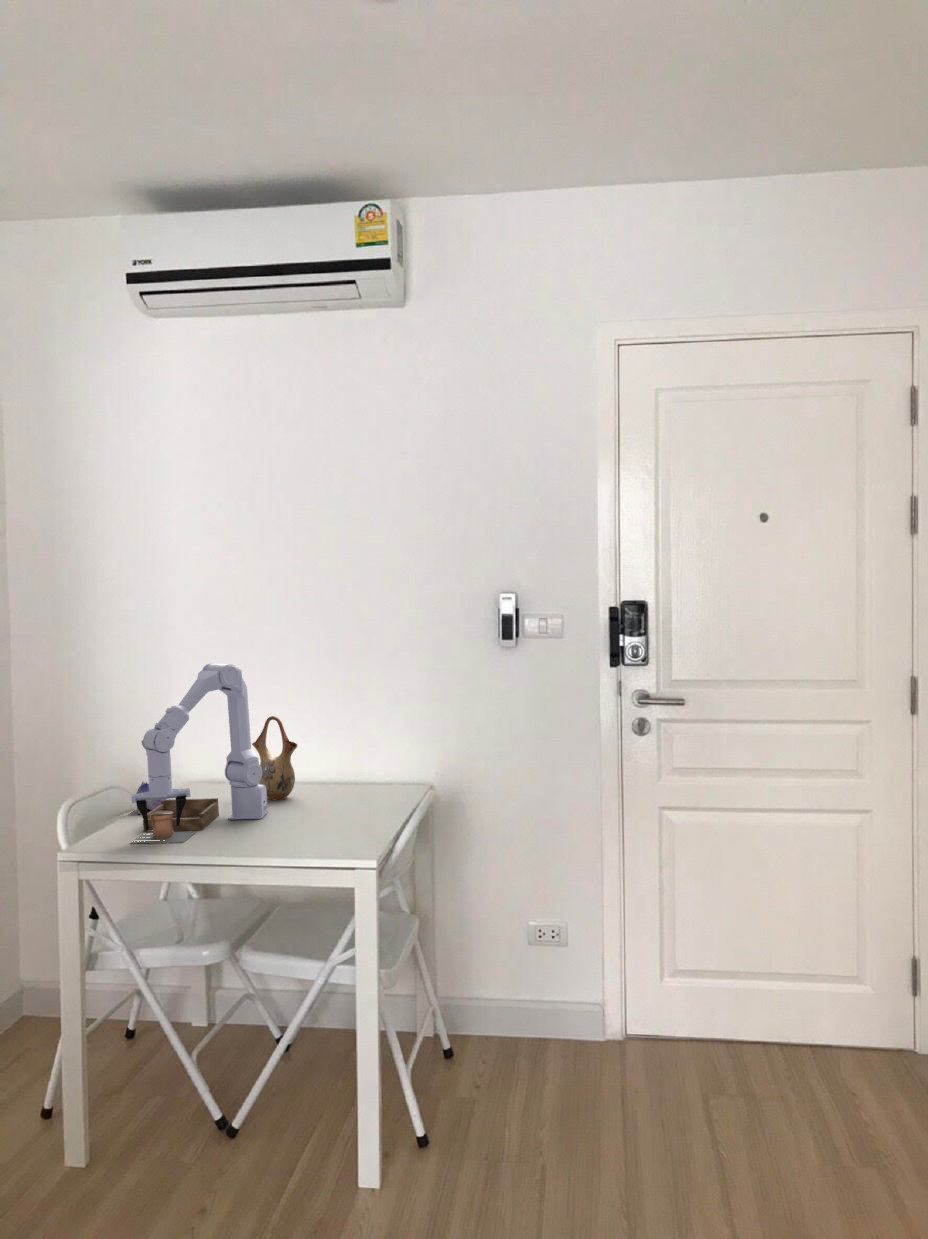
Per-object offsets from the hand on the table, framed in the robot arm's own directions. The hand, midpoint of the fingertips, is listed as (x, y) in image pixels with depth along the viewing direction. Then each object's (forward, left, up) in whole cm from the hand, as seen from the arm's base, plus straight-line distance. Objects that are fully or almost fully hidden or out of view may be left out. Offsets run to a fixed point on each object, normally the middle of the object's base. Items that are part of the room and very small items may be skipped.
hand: (162, 827), depth 262 cm
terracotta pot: (0, -1, -3) cm, 3 cm away
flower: (+15, -30, -3) cm, 34 cm away
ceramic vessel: (-20, -42, -3) cm, 47 cm away
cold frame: (0, -15, -3) cm, 15 cm away
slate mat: (0, 0, -3) cm, 3 cm away
